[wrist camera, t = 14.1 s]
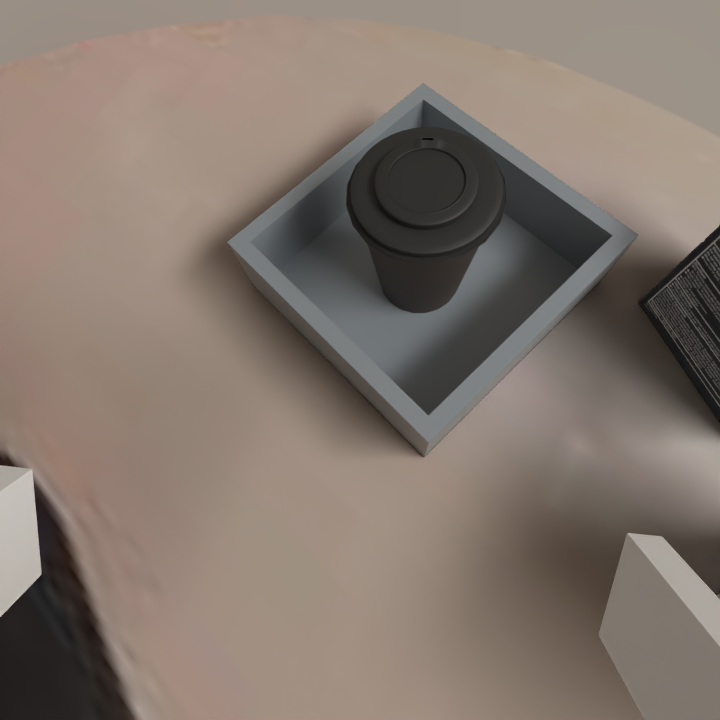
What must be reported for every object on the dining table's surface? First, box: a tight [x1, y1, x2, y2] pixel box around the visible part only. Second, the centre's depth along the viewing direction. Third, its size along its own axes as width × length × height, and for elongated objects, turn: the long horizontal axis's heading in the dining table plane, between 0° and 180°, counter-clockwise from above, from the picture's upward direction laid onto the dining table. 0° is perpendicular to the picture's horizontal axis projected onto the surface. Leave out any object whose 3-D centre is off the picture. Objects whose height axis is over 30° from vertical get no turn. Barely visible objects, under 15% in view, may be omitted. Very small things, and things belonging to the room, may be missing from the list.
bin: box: [227, 83, 638, 457], centre depth 31 cm, size 17×17×6 cm
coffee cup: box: [346, 127, 507, 313], centre depth 28 cm, size 8×8×10 cm
